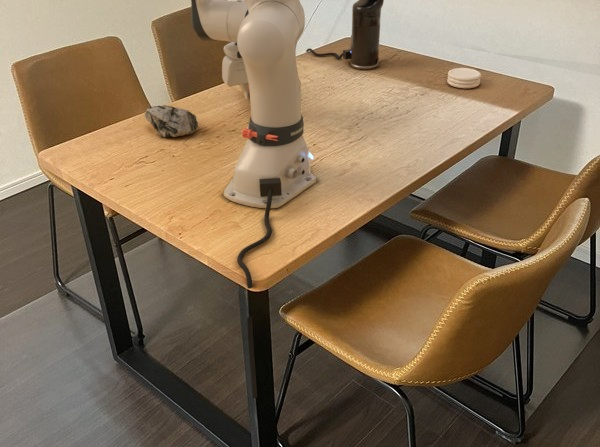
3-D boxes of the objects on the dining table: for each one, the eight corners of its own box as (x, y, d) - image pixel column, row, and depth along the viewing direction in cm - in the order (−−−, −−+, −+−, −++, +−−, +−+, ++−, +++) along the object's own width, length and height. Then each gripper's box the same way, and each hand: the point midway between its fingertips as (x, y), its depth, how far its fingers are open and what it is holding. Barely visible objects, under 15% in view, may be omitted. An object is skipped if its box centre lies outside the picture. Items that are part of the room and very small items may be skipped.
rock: (203, 130, 165) (200, 105, 161) (171, 142, 159) (167, 116, 155) (172, 117, 174) (168, 92, 171) (140, 127, 168) (136, 102, 165)
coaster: (442, 78, 197) (444, 68, 195) (473, 77, 198) (474, 66, 196) (452, 89, 189) (453, 78, 187) (484, 88, 189) (486, 77, 188)
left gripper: (287, 36, 169) (288, 85, 176) (217, 47, 161) (221, 98, 168) (298, 42, 164) (298, 91, 172) (227, 54, 156) (231, 106, 163)
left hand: (260, 95), depth 170 cm, fingers closed on bar, 6 cm apart
